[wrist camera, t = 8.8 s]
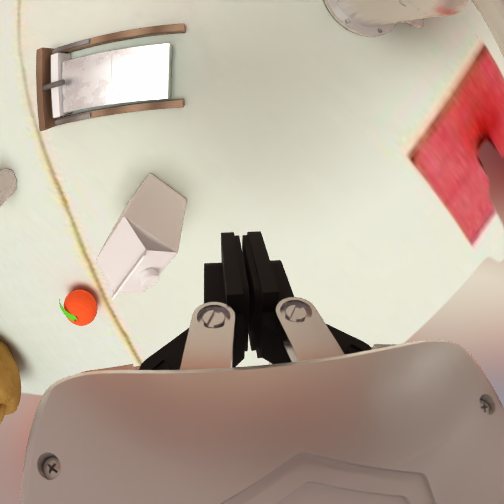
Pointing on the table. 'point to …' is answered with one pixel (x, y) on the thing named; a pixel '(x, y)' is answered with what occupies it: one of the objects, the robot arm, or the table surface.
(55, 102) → the pusher
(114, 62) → the tin
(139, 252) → the milk carton
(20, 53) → the table surface
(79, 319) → the clementine
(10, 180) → the faceted bottle
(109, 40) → the lane
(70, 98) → the white square block
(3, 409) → the vase
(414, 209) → the table surface
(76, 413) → the robot arm
